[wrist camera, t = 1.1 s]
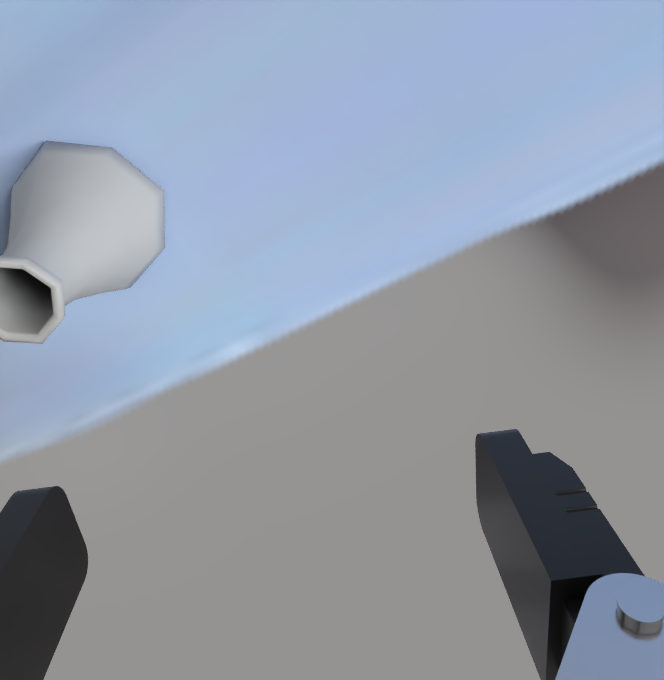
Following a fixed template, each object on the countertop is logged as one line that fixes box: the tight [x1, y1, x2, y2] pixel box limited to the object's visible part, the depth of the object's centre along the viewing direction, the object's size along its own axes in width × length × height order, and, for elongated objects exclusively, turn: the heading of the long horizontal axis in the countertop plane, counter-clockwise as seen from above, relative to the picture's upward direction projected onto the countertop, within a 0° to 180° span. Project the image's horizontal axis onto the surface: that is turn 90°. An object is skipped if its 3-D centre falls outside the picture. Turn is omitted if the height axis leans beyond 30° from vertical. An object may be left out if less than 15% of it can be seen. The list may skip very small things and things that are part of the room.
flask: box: [0, 141, 165, 344], centre depth 24 cm, size 7×7×10 cm
